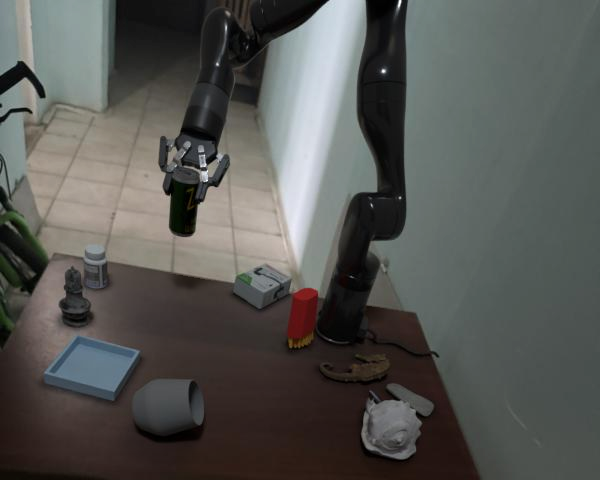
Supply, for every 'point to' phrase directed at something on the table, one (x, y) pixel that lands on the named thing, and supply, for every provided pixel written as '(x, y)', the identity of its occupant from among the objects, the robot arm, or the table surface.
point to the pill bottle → (95, 266)
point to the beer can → (183, 201)
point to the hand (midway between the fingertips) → (182, 198)
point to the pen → (375, 397)
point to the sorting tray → (93, 367)
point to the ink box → (262, 285)
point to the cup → (168, 406)
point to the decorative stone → (411, 399)
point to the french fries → (302, 317)
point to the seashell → (390, 429)
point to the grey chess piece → (74, 301)
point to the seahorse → (361, 369)
